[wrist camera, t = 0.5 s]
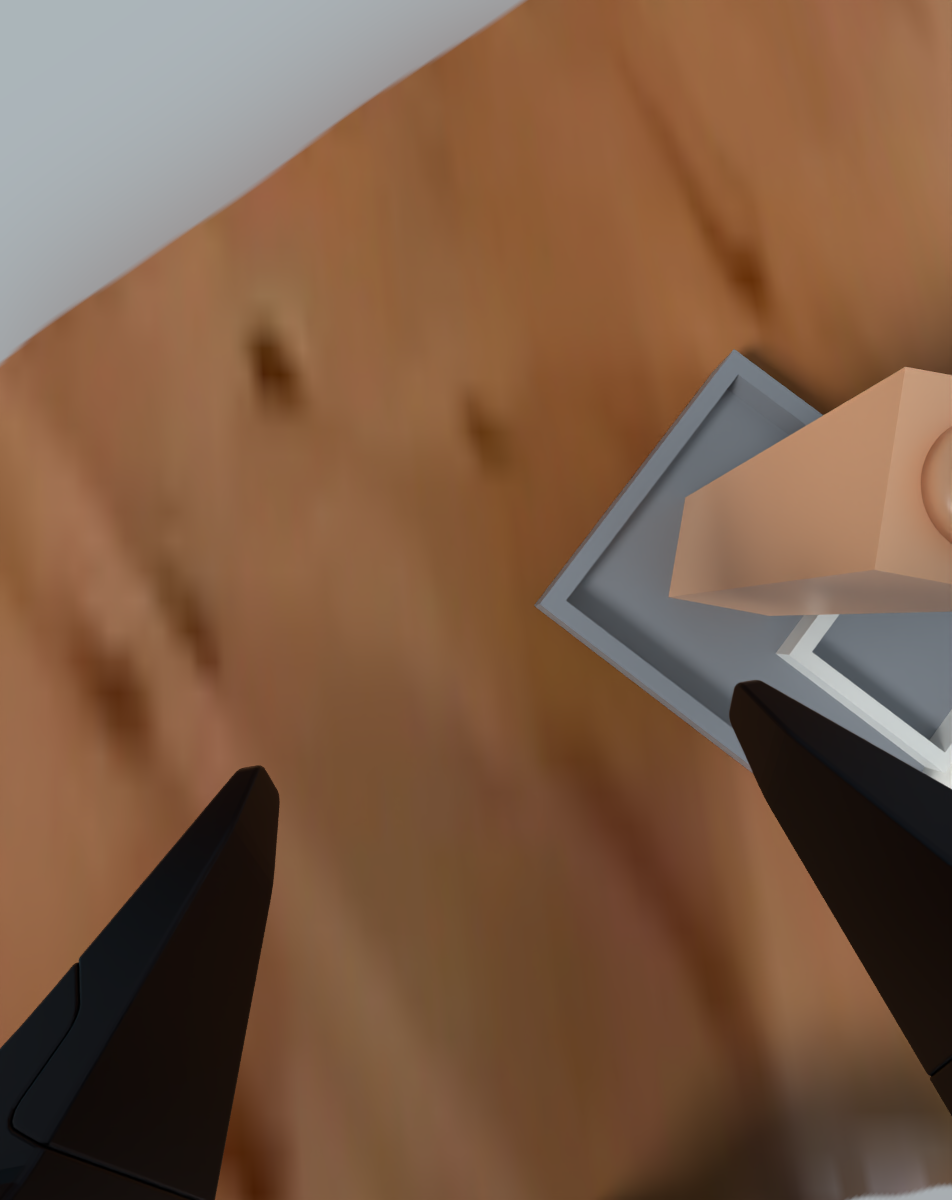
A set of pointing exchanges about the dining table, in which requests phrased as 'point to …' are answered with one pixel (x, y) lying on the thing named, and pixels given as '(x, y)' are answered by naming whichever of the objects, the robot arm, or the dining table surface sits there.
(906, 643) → the grey rectangular tray
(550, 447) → the dining table surface
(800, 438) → the block
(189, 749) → the dining table surface
